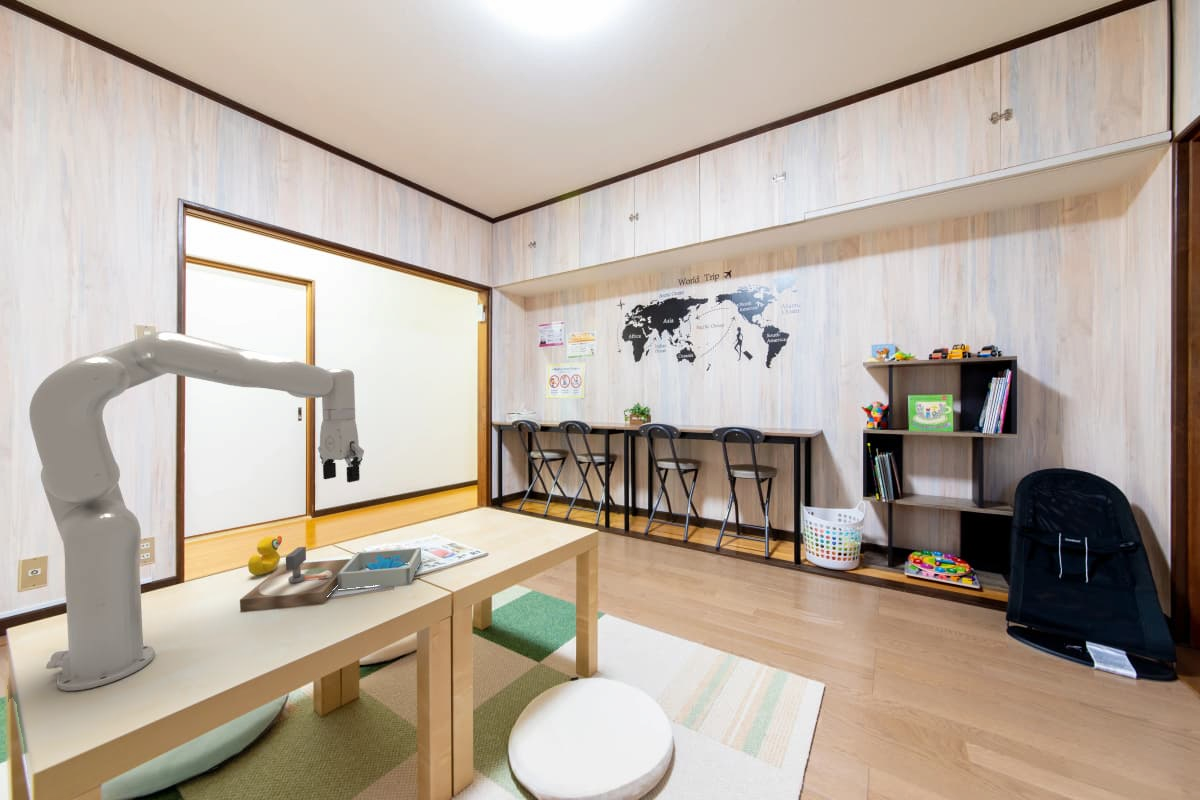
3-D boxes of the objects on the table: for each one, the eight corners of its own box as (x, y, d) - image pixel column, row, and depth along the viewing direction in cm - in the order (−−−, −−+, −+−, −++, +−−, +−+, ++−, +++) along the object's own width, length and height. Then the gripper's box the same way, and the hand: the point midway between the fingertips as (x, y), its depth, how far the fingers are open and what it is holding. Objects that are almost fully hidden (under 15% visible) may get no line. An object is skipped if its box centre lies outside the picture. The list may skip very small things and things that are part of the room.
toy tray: (337, 591, 119) (337, 574, 119) (357, 567, 135) (357, 552, 135) (410, 584, 123) (409, 568, 123) (421, 561, 138) (420, 547, 138)
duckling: (272, 564, 138) (271, 531, 137) (290, 564, 137) (289, 531, 137) (242, 580, 126) (240, 545, 126) (260, 580, 126) (259, 545, 126)
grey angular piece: (282, 586, 114) (281, 557, 114) (295, 575, 121) (294, 547, 121) (321, 583, 116) (320, 554, 116) (331, 572, 123) (331, 544, 123)
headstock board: (240, 611, 108) (239, 598, 108) (284, 574, 130) (284, 563, 130) (322, 603, 112) (322, 590, 112) (352, 568, 134) (352, 557, 133)
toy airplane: (363, 573, 130) (362, 559, 130) (398, 563, 137) (398, 550, 137) (375, 587, 122) (374, 571, 122) (412, 576, 128) (411, 561, 128)
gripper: (304, 416, 120) (307, 479, 121) (347, 417, 112) (349, 485, 113) (332, 414, 127) (334, 474, 127) (373, 415, 119) (375, 479, 120)
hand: (341, 479), depth 120 cm, fingers open, 9 cm apart
